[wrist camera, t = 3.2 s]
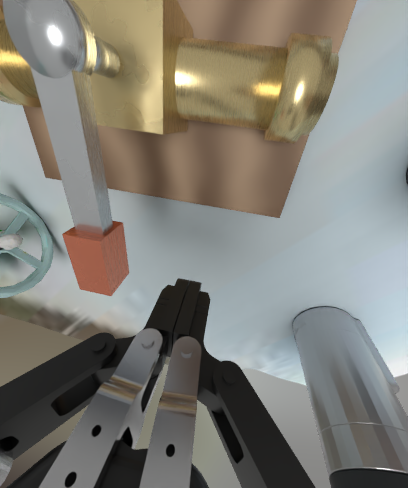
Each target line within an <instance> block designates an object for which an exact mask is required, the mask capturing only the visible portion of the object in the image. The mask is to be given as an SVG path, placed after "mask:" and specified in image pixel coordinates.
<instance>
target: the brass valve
mask: <svg viewBox="0 0 408 488" xmlns="http://www.w3.org/2000/svg"><path fill="white" fill-rule="evenodd" d="M73 1H74V2H75V3H76V4H77V5H78V6H79V7H80V8H81V10H82V11H83V12H84V14H85V15H86V17H87V19H88V21H89V23H90V25H91V28H92V31H93V33H94V37H95V42H96V50H97V58H96V65H95V68H94V71H93V73H92V75H91V76H90V82H91V88H92V95H93V101H94V107H95V114H96V120H97V125H101V126H108V127H115V128H121V129H128V130H135V131H142V132H149V133H156V134H170V133H177V132H184V131H187V128H188V120H195V121H202V122H210V123H217V124H224V125H231V126H239V127H246V128H253V129H261V130H264V140H270V141H277V142H285V143H292V144H294V143H295V142H297V140H298V139H299V138H300V136H301V135H304V136H306V135H308V134H309V133H310V132H311V131H312V130H313V128H314V127H315V125H316V123H317V122H318V120H319V118H320V116H321V114H322V112H323V110H324V108H325V106H326V103H327V101H328V98H329V96H330V93H331V90H332V87H333V84H334V81H335V77H336V73H337V68H338V61H339V57H338V54H337V53H334V52H332V38H331V37H330V36H321V35H311V34H300V33H291V34H290V36H289V38H288V41H287V43H286V46H285V47H275V46H265V45H255V44H246V43H236V42H226V41H216V40H206V39H197V38H193V29H192V27H191V25H190V23H189V22H188V20H187V18H186V16H185V14H184V12H183V11H182V9H181V7H180V5H179V3H178V1H177V0H73ZM0 100H2V101H4V102H7V103H10V104H16V105H23V106H30V107H41V103H40V99H39V96H38V92H37V89H36V85H35V81H34V78H33V74H32V71H31V67H30V66H29V65H28V64H27V63H26V61H25V60H24V59H23V58H22V56H21V55H20V54H19V52H18V51H17V49H16V47H15V45H14V43H13V41H12V39H11V37H10V35H9V32H8V29H7V26H6V22H5V18H4V12H3V6H2V5H0Z"/></svg>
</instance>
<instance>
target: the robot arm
mask: <svg viewBox="0 0 408 488" xmlns="http://www.w3.org/2000/svg"><path fill="white" fill-rule="evenodd" d="M200 290H201V283H200V282H195V281H189V280H184V279H179V278H178V279H177V282H176V284H175V286H171V285H168V286H166V287H165V288H164V289H163V290H162V292H161V294H160V296H159V299H158V300H157V302H156V304H155V307H154V309H153V311H152V313H151V315H150V317H149V319H148V322H147V324H146V326H145V328H144V329H143V330H142V331H140V332H139V333H138V334H137V335H135V336H133V337H129V338H120V339H115V338H114V336H113V335H111V334H110V333H99V334H96V335H94V336H92V337H90V338H89V339H87V340H85V341H83V342H81V343H79V344H78V345H76V346H74V347H72V348H70V349H69V350H67V351H65V352H63V353H62V354H59V355H58V356H56V357H54V358H52V359H50V360H49V361H47V362H45V363H43V364H41V365H39V366H38V367H36V368H34V369H32V370H30V371H29V372H27V373H25V374H23V375H21V376H20V377H18V378H16V379H14V380H12V381H10V382H9V383H7V384H5V385H3V386H1V387H0V485H1V484H2V483H3V482H4V480H5V479H6V477H7V475H8V473H9V471H10V469H11V466H12V462H13V460H14V459H16V458H17V457H18V456H20V455H21V454H22V453H24V452H25V451H26V450H28V449H29V448H31V447H32V446H33V445H35V444H36V443H37V442H39V441H40V440H41V439H43V438H44V437H45V436H47V435H48V434H49V433H51V432H52V431H53V430H55V429H56V428H58V427H59V426H60V425H62V424H63V423H64V422H66V421H67V420H68V419H70V418H71V417H72V416H74V415H75V414H76V413H78V412H79V411H81V410H82V409H83V408H85V407H86V406H87V405H88V407H87V409H86V410H85V412H84V414H83V415H82V417H81V419H80V420H79V422H78V423H77V425H76V427H75V429H74V430H73V432H72V434H71V435H70V437H69V438H68V440H67V441H65V442H63V443H61V444H60V445H59V446H57V447H56V448H54V449H53V450H51V451H50V452H49V453H48V454H46V455H45V456H44V457H43V458H42V459H40V460H39V461H38V462H37V463H36V464H34V465H33V466H32V467H31V468H30V469H28V470H27V471H26V472H25V473H23V474H22V475H21V476H20V477H19V478H18V479H16V480H15V481H14V482H13V483H12V484H10V485H9V486H8V487H7V488H209V487H208V485H207V483H206V481H205V479H204V477H203V476H202V474H201V473H200V472H199V471H198V469H197V468H196V467H195V466H194V465H193V464H192V453H193V443H194V431H195V420H196V410H197V400H199V401H200V402H201V403H203V404H204V405H205V406H207V409H208V411H209V414H210V416H211V418H212V420H213V423H214V425H215V427H216V430H217V432H218V434H219V437H220V439H221V441H222V443H223V446H224V448H225V450H226V452H227V455H228V457H229V459H230V461H231V464H232V466H233V468H234V471H235V473H236V475H237V478H238V480H239V482H240V484H241V487H242V488H315V486H314V485H313V483H312V481H311V480H310V478H309V477H308V475H307V473H306V472H305V470H304V469H303V467H302V465H301V464H300V462H299V461H298V459H297V457H296V456H295V454H294V453H293V451H292V450H291V448H290V446H289V445H288V443H287V442H286V440H285V438H284V437H283V435H282V434H281V432H280V430H279V429H278V427H277V426H276V424H275V423H274V421H273V419H272V418H271V416H270V414H269V413H268V411H267V410H266V408H265V407H264V405H263V403H262V402H261V400H260V399H259V397H258V395H257V394H256V392H255V391H254V389H253V387H252V386H251V384H250V383H249V381H248V380H247V378H246V376H245V375H244V373H243V372H242V370H241V369H240V367H239V366H238V365H237V364H235V363H234V362H231V361H222V362H220V361H219V360H217V359H216V358H214V357H212V356H211V355H210V354H209V353H208V352H207V351H206V349H205V347H204V342H203V340H204V333H205V327H206V321H207V316H208V310H209V304H210V298H209V295H208V293H206V292H201V291H200ZM293 331H294V336H295V340H296V343H297V348H298V352H299V356H300V360H301V364H302V369H303V373H304V377H305V381H306V385H307V389H308V393H309V398H310V401H311V406H312V410H313V414H314V418H315V423H316V427H317V431H318V435H319V439H320V443H321V447H322V451H323V455H324V460H325V464H326V468H327V472H328V476H329V480H330V484H331V488H408V416H407V414H406V412H405V411H404V409H403V407H402V405H401V403H400V402H399V400H398V398H397V396H396V395H395V394H396V393H397V392H398V391H399V386H398V384H397V382H396V380H395V379H394V377H393V375H392V374H391V372H390V370H389V369H388V367H387V365H386V364H385V362H384V360H383V358H382V357H381V355H380V353H379V352H378V350H377V348H376V347H375V345H374V343H373V342H372V340H371V338H370V336H369V335H368V333H367V331H366V330H365V328H364V326H363V325H362V323H361V321H360V320H356V319H354V318H352V317H351V316H350V314H348V313H347V312H345V311H343V310H340V309H337V308H331V307H319V308H314V309H310V310H307V311H305V312H303V313H301V314H300V315H298V316H297V317H296V319H295V320H294V322H293ZM167 356H168V357H170V362H169V366H168V371H167V375H166V380H165V385H164V389H163V393H162V396H161V398H160V401H159V405H158V409H157V413H156V417H155V422H154V426H153V430H152V435H151V439H150V444H149V448H148V449H139V450H134V449H135V446H136V444H137V441H138V438H139V436H140V433H141V430H142V427H143V423H144V418H145V415H146V412H147V409H148V407H149V404H150V402H151V399H152V396H153V394H154V391H155V389H156V386H157V383H158V381H159V378H160V376H161V373H162V370H163V366H164V363H165V360H166V357H167Z"/></svg>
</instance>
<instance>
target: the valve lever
mask: <svg viewBox="0 0 408 488" xmlns="http://www.w3.org/2000/svg"><path fill="white" fill-rule="evenodd" d="M3 12H4V18H5V22H6V26H7V29H8V32H9V35H10V37H11V39H12V41H13V43H14V45H15V47H16V49H17V51H18V52H19V54H20V55H21V56H22V58H23V59H24V60H25V61H26V63H27V64H28V65H29V66H30V67H31V71H32V74H33V78H34V81H35V85H36V89H37V92H38V96H39V99H40V103H41V107H42V110H43V114H44V118H45V121H46V125H47V128H48V132H49V136H50V139H51V143H52V146H53V150H54V154H55V157H56V161H57V164H58V168H59V172H60V175H61V179H62V183H63V186H64V190H65V193H66V197H67V201H68V204H69V208H70V211H71V215H72V219H73V222H74V226H75V227H73V228H71V229H70V230H68V231H67V232H65V233H63V234H62V235H63V238H64V241H65V244H66V248H67V251H68V254H69V257H70V260H71V263H72V266H73V269H74V272H75V275H76V278H77V281H78V285H79V288H80V289H81V290H86V291H90V292H95V293H99V294H104V295H108V296H112V295H113V293H114V292H115V291H116V289H117V288H118V287H119V285H120V284H121V283H122V281H123V280H124V279H125V278H126V276H127V275H128V274H129V268H128V260H127V252H126V244H125V236H124V228H123V223H122V222H116V221H112V216H111V210H110V203H109V197H108V190H107V184H106V178H105V171H104V165H103V158H102V152H101V146H100V139H99V133H98V127H97V120H96V114H95V107H94V101H93V95H92V88H91V82H90V76H91V75H92V73H93V71H94V68H95V65H96V58H97V50H96V42H95V37H94V33H93V31H92V28H91V25H90V23H89V21H88V19H87V17H86V15H85V14H84V12H83V11H82V10H81V8H80V7H79V6H78V5H77V4H76V3H75V2H74V1H73V0H3Z"/></svg>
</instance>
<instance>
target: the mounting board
mask: <svg viewBox="0 0 408 488" xmlns="http://www.w3.org/2000/svg"><path fill="white" fill-rule="evenodd" d="M177 1H178V3H179V5H180V7H181V9H182V11H183V12H184V14H185V16H186V18H187V20H188V22H189V23H190V25H191V27H192V29H193V38H197V39H206V40H216V41H226V42H236V43H246V44H255V45H265V46H275V47H285V46H286V43H287V41H288V38H289V36H290V34H291V33H300V34H311V35H321V36H330V37H331V38H332V52H334V53H337V54H338V52H339V49H340V46H341V44H342V41H343V38H344V35H345V32H346V30H347V27H348V24H349V21H350V18H351V16H352V13H353V10H354V7H355V4H356V1H357V0H177ZM0 5H2V6H3V0H0ZM23 108H24V111H25V114H26V117H27V120H28V123H29V127H30V130H31V133H32V136H33V139H34V142H35V145H36V149H37V152H38V155H39V158H40V161H41V164H42V167H43V171H44V174H45V177H46V178H52V179H57V180H62V179H61V175H60V172H59V168H58V164H57V161H56V157H55V154H54V150H53V146H52V143H51V139H50V136H49V132H48V128H47V125H46V121H45V118H44V114H43V110H42V107H30V106H23ZM97 127H98V133H99V139H100V146H101V152H102V158H103V165H104V171H105V178H106V184H107V188H109V189H115V190H121V191H127V192H132V193H138V194H144V195H150V196H155V197H161V198H167V199H173V200H178V201H184V202H190V203H196V204H202V205H207V206H213V207H219V208H225V209H230V210H236V211H242V212H248V213H253V214H259V215H265V216H271V217H277V218H280V215H281V212H282V210H283V207H284V204H285V201H286V198H287V196H288V193H289V190H290V187H291V184H292V181H293V179H294V176H295V173H296V170H297V167H298V165H299V162H300V159H301V156H302V153H303V151H304V148H305V145H306V142H307V139H308V136H309V134H310V133H309V134H308V135H306V136H304V135H301V136H300V138H299V139H298V140H297V142H295V143H294V144H292V143H285V142H277V141H270V140H264V130H261V129H253V128H246V127H239V126H231V125H224V124H217V123H210V122H202V121H195V120H188V128H187V131H184V132H177V133H170V134H156V133H149V132H142V131H135V130H128V129H121V128H115V127H108V126H101V125H97Z"/></svg>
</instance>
